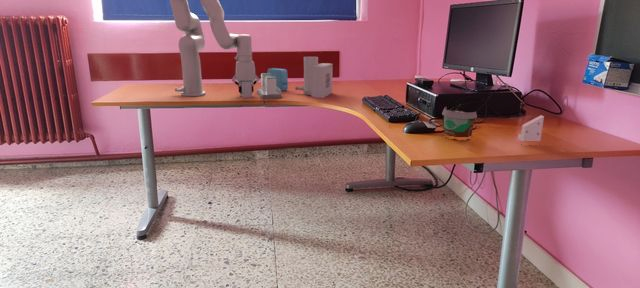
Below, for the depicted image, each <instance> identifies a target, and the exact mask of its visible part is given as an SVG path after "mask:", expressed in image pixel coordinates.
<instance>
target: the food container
mask: <svg viewBox="0 0 640 288" xmlns="http://www.w3.org/2000/svg"><path fill="white" fill-rule="evenodd" d="M441 114H442V116H443V128H444V129H443V134H444V133H445V134H447V135H449V136H454V137H469V136H471V137H472V135H473V129H474V124H475V121H476V119H477V118H478V115H477V111H473V112H466V111H464V110H454V109H453V110H452V109H447V106H445V107H444V108H443V110H442V112H441Z"/></svg>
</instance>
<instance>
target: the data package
mask: <svg viewBox="0 0 640 288" xmlns="http://www.w3.org/2000/svg"><path fill="white" fill-rule="evenodd" d="M267 73H270V74H271V77H276V86H277V87H278V88H279V89H280V90H281V92H283V91H287V90H288V89H289V88H288V87H289V86H288V85H289V84H288V83H289V82H288V78H289V77H288V70H287V69H286V68H277V67H276V68H275V67H272V68H268V69H267Z"/></svg>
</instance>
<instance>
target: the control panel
mask: <svg viewBox="0 0 640 288" xmlns="http://www.w3.org/2000/svg"><path fill="white" fill-rule="evenodd" d="M333 64H334V63H328V62H326V63H325V62H324V63H323V62H322V63H319V57H318V56H303V86H295V91H296V90H297V91H303V92H302V93H303V95H307V96H311V97H312V98H316V99H324V98H325V97H328V96H330V95H331V93H332V94H333ZM329 94H330V95H329Z"/></svg>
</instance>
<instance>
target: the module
mask: <svg viewBox="0 0 640 288" xmlns="http://www.w3.org/2000/svg"><path fill="white" fill-rule="evenodd" d="M241 87H242V94H240V96H241V97H242V99H243V98H253V94H252V83H251V81H242V82H241Z"/></svg>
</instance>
